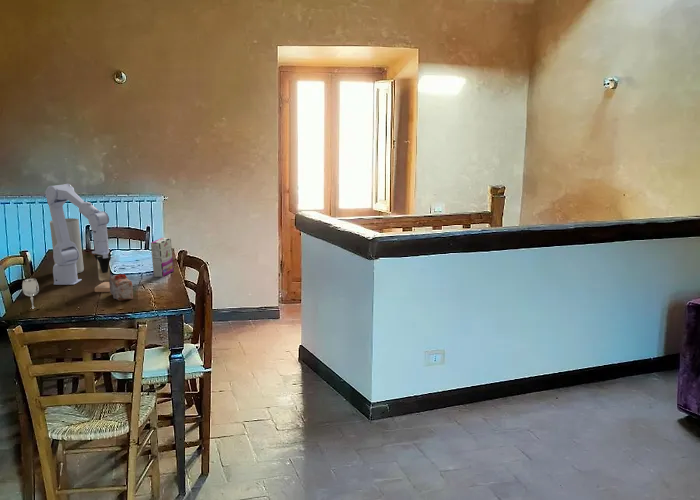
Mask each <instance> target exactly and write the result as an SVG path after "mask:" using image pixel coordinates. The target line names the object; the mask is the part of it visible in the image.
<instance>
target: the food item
mask: <svg viewBox="0 0 700 500" xmlns="http://www.w3.org/2000/svg"><path fill="white" fill-rule="evenodd" d="M108 282H109V284H110V292H109V293H110V294H111V295H112V298H113V300H114V299H116V300H117V301H120V302H121V301H122V302H123V301H129V300H133V299H134V287H133V281H132V280H130V279H128V276H127V275H126V274H125V273H124V274H121V273H119V274H114V275H110V277H109V280H108Z"/></svg>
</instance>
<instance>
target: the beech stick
mask: <svg viewBox="0 0 700 500" xmlns="http://www.w3.org/2000/svg"><path fill="white" fill-rule="evenodd" d="M97 257H101V256H97ZM96 262H97V276H98V277H97V278H98V280H99V281H101V282H102V281H103V282H104V281H109V277H111V275H110V274H111V273H110V270H111V269H110V266H109V267H108V272H107V273H102V270H101V266H100V263H99V261H98V259H97V260H96Z"/></svg>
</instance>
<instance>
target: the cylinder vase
mask: <svg viewBox="0 0 700 500" xmlns="http://www.w3.org/2000/svg"><path fill="white" fill-rule="evenodd" d="M65 220H66V224H67V229H68V233H69V238H70V241H71V242H73V243H75V244H76V247H77V249H78V251H79V259H78V260H77V262H76V267H77V274H80V273H82V272H84V269H85V267H84V258H83V252H82V251H83V249H82V240H81V239H82V238H81V230H80V221H79V219H78V218H71V217H70V218H67V217H65ZM49 227H50V235H51V245H52V249H53V248H54V247H55V245H56V244H57V239H56V235H55V230H54V226H53V222H52V220H50V221H49ZM67 248H68V247H67ZM67 248H63V249H67ZM63 249H62V250H63ZM53 262H54V265H55V264H57V263H56V262H55V261H54V260H53Z"/></svg>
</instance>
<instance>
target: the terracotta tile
mask: <svg viewBox="0 0 700 500" xmlns="http://www.w3.org/2000/svg"><path fill="white" fill-rule="evenodd" d="M94 292H95V293H110V284H109V281H103V282H101V283H100V284H98V285H96V286H95V287H94Z"/></svg>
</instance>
